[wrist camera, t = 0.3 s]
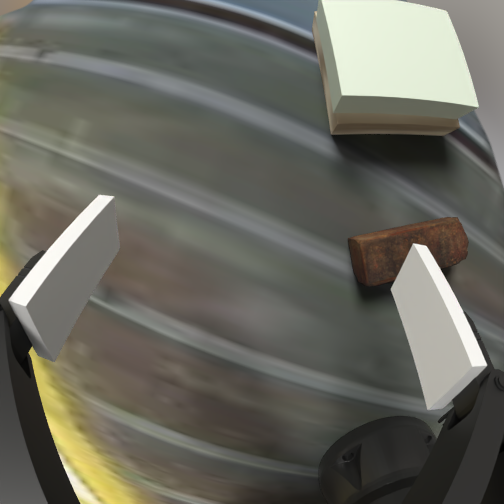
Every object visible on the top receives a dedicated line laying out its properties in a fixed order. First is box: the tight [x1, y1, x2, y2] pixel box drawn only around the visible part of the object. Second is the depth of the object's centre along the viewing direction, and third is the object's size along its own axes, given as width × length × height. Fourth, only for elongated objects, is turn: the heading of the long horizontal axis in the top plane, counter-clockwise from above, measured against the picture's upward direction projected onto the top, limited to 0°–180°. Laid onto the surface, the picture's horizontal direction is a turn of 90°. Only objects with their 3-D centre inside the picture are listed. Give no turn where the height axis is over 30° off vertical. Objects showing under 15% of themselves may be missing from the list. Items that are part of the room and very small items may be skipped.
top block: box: [316, 0, 479, 119], centre depth 20 cm, size 10×12×4 cm
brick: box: [348, 217, 469, 286], centre depth 25 cm, size 11×4×5 cm, turn 102°
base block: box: [312, 11, 460, 136], centre depth 24 cm, size 12×12×4 cm
